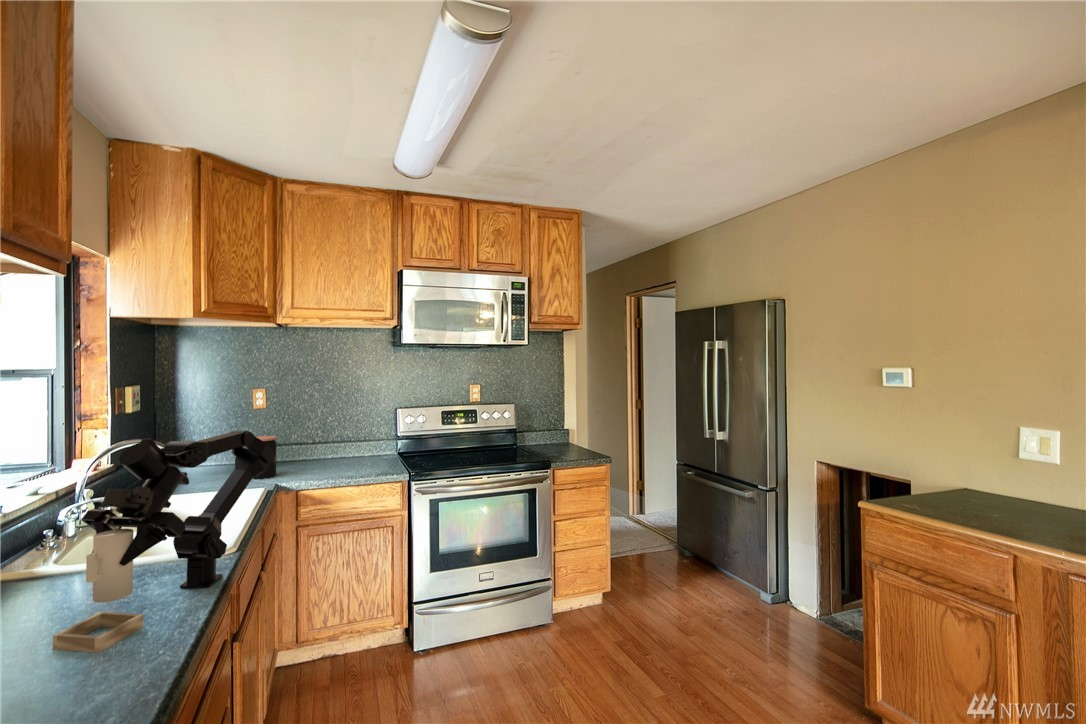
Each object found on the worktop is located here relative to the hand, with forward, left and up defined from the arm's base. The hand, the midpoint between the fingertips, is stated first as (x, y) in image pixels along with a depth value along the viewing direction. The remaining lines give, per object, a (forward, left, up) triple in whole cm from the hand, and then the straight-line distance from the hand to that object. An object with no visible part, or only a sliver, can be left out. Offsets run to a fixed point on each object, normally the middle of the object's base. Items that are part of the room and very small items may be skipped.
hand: (106, 564), depth 99 cm
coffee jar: (-140, -32, -14) cm, 145 cm away
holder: (+1, 0, -13) cm, 14 cm away
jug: (-1, 0, -7) cm, 7 cm away
